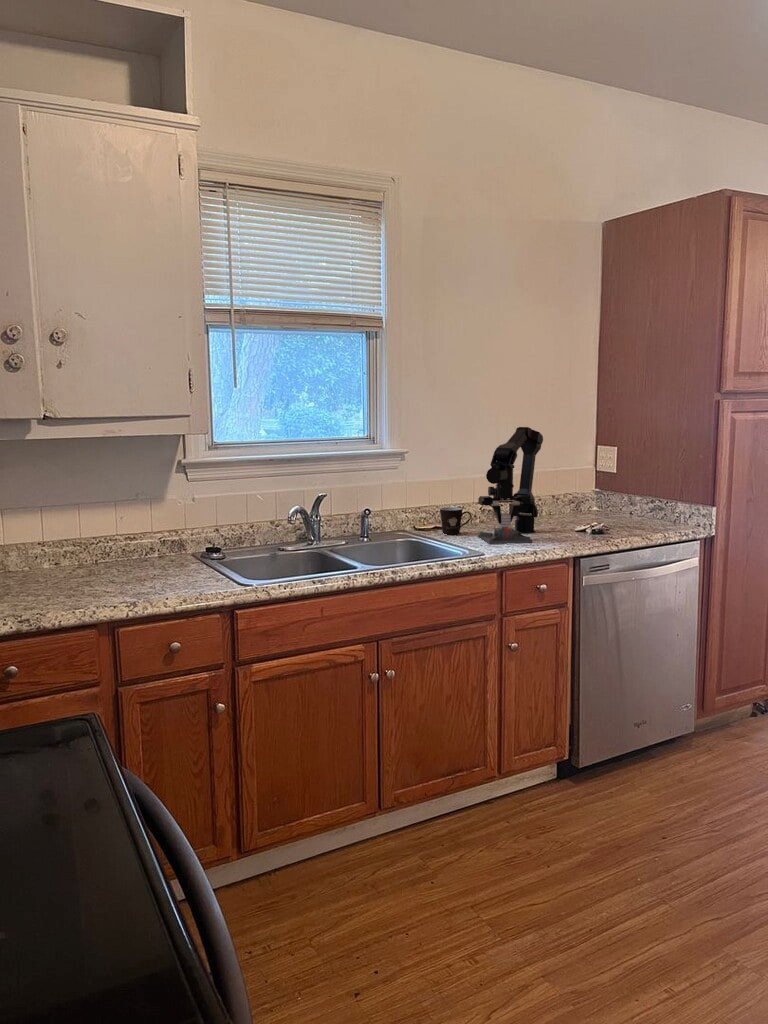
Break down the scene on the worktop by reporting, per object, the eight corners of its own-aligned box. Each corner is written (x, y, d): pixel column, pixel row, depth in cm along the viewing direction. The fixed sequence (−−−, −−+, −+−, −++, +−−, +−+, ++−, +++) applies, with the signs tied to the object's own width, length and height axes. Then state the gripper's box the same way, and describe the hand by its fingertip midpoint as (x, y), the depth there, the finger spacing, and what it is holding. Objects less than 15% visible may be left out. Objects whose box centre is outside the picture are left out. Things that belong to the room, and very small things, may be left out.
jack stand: (518, 535, 297) (518, 523, 297) (532, 542, 282) (532, 529, 281) (477, 536, 295) (477, 524, 294) (489, 544, 279) (489, 531, 279)
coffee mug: (437, 535, 299) (437, 509, 297) (443, 532, 307) (443, 506, 305) (467, 537, 295) (467, 510, 293) (472, 533, 303) (472, 507, 302)
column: (507, 531, 290) (507, 513, 289) (510, 533, 286) (510, 514, 285) (498, 532, 289) (498, 513, 288) (501, 533, 286) (501, 514, 285)
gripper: (522, 478, 294) (521, 519, 297) (474, 479, 292) (474, 520, 294) (532, 481, 284) (531, 523, 286) (482, 482, 281) (482, 525, 283)
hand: (504, 523), depth 287 cm, fingers closed on column, 4 cm apart
